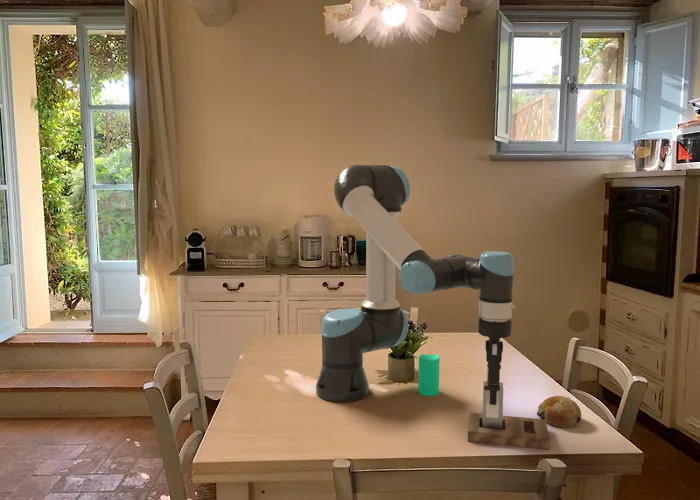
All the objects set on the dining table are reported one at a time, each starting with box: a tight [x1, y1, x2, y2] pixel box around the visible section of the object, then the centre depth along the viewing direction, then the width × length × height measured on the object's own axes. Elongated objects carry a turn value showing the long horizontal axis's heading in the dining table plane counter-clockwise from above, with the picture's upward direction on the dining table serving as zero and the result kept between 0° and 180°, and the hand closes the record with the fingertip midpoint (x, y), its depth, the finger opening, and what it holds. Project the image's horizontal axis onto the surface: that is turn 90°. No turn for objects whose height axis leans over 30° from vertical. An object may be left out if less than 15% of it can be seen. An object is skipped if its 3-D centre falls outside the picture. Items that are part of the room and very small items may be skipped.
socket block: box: [467, 412, 551, 451], centre depth 134 cm, size 18×11×2 cm, turn 76°
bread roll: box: [536, 395, 582, 429], centre depth 142 cm, size 10×10×8 cm
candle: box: [417, 353, 440, 397], centre depth 161 cm, size 6×6×12 cm
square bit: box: [481, 380, 504, 430], centre depth 134 cm, size 4×4×12 cm
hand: (491, 405), depth 134 cm, fingers open, 13 cm apart
